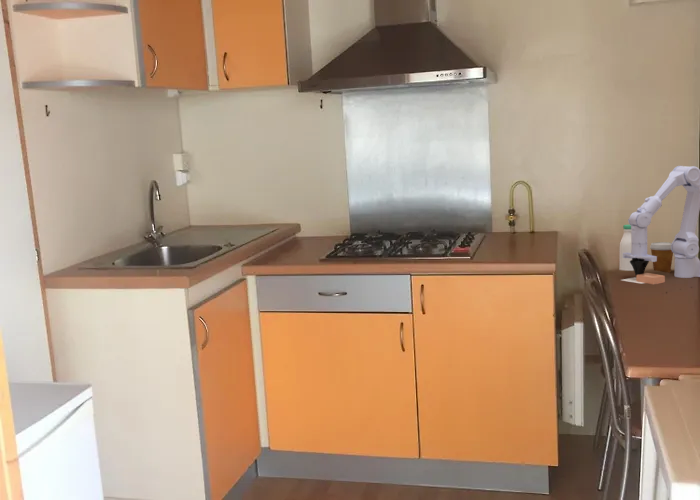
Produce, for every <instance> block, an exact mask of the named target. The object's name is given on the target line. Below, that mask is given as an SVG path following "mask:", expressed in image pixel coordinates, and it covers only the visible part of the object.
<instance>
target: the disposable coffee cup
mask: <svg viewBox="0 0 700 500" xmlns="http://www.w3.org/2000/svg"><path fill="white" fill-rule="evenodd" d="M671 244H672V242H667V241H661V242H660V241H659V242H651V244H650V245H649V248H650V251H651V255H652V256H657V261H656V262H652V267H653V271H656V272H662V273H667V274H668V273H669V274H671V271H672V264H673V263H672V261H673V256H674V253H673V252H672V250H671Z"/></svg>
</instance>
